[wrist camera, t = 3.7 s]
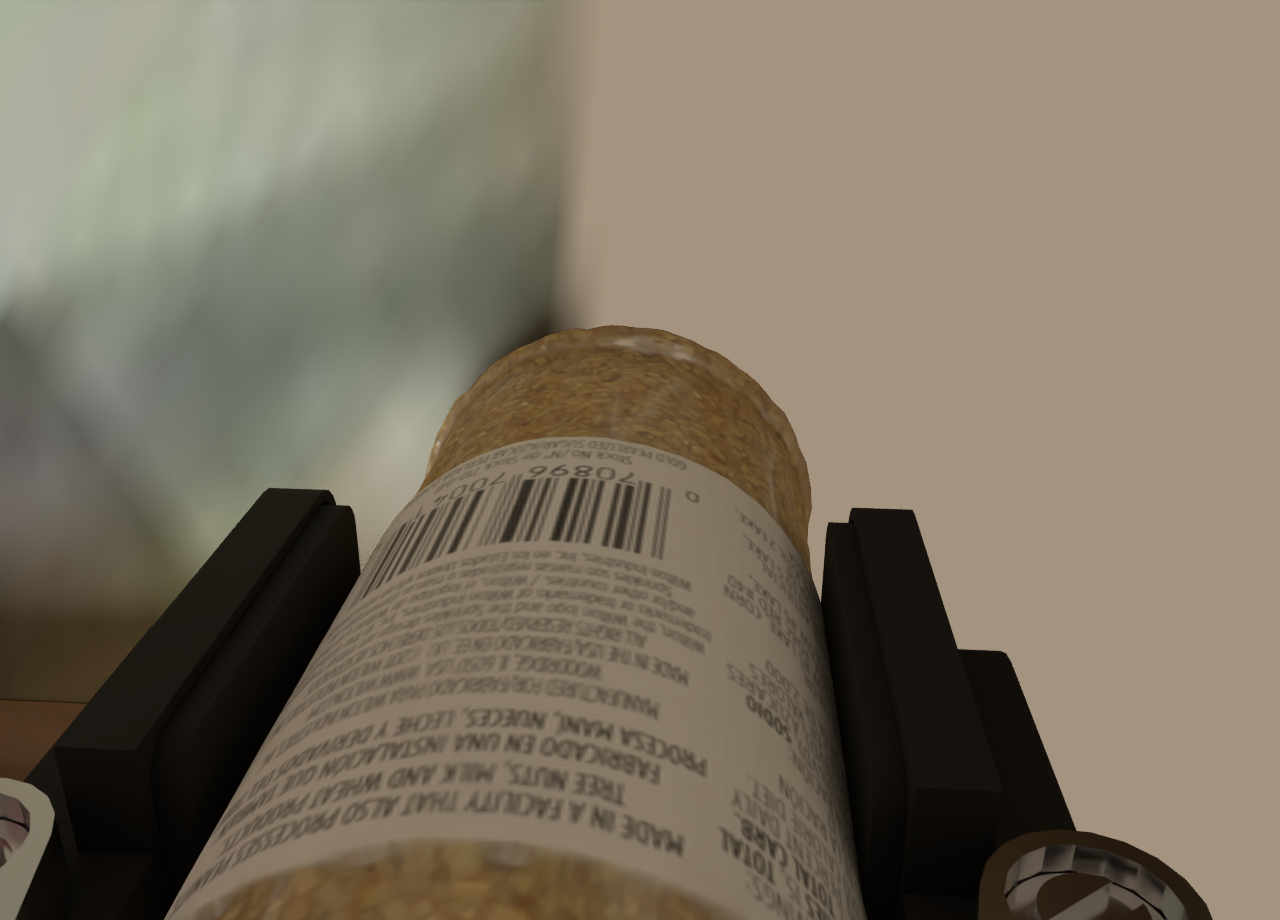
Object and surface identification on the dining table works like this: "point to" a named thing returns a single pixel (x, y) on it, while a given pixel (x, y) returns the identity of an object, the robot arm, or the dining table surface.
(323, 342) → the dining table surface
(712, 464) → the sprinkles bottle
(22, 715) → the guide rail
